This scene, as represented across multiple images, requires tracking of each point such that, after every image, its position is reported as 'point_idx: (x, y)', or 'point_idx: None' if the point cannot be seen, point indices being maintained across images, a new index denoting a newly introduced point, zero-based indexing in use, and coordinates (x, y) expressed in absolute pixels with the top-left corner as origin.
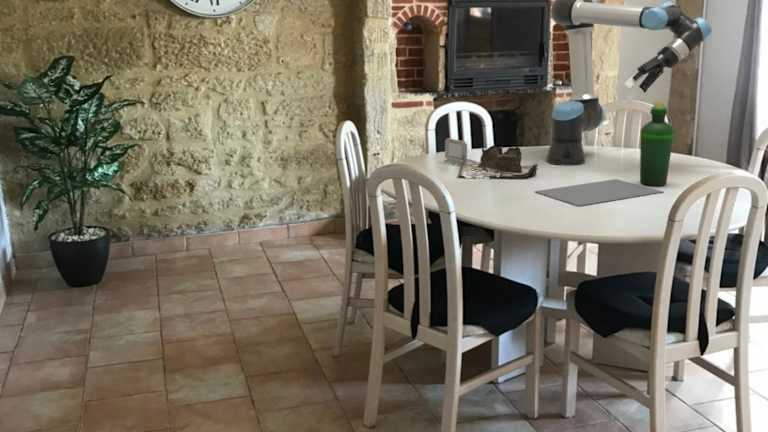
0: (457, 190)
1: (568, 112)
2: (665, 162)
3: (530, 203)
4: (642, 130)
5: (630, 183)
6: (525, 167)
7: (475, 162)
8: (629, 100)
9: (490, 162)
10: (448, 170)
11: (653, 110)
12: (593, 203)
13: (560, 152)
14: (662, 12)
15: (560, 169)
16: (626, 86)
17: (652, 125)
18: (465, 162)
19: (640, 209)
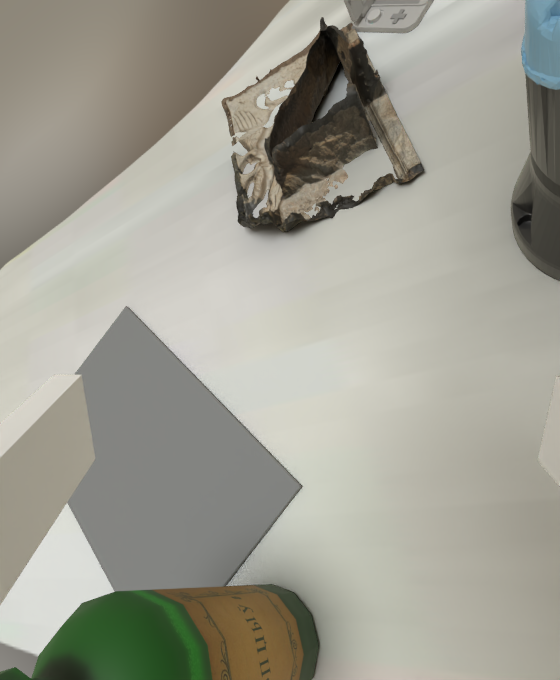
0: (129, 171)
1: (531, 30)
2: None
3: (54, 334)
4: (91, 600)
5: (244, 545)
6: (394, 155)
7: (397, 19)
8: (549, 453)
9: (317, 85)
10: (300, 35)
11: None
12: None
13: (519, 184)
14: None
15: (425, 255)
16: (81, 416)
17: (36, 668)
18: (352, 18)
19: None
